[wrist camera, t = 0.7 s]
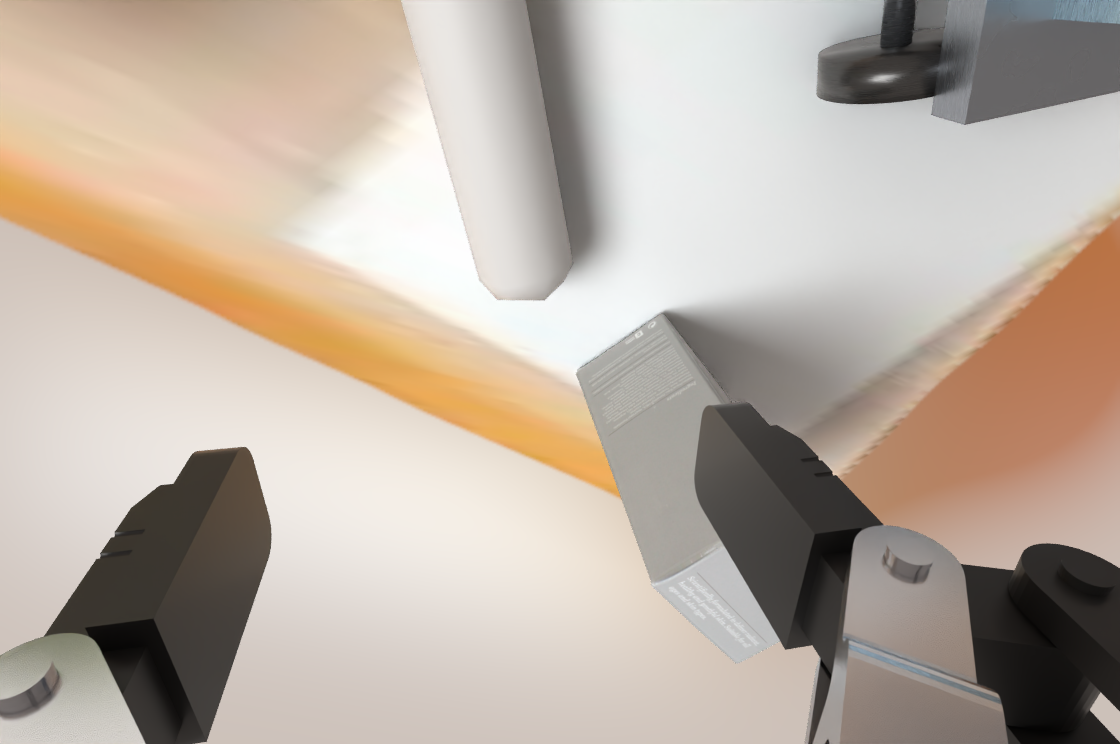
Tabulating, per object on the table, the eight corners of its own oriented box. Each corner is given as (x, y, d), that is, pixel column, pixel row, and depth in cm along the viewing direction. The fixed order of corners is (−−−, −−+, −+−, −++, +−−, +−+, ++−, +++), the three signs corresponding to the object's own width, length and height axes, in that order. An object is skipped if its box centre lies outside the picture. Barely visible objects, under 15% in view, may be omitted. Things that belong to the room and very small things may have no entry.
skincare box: (572, 367, 36) (625, 591, 23) (674, 300, 34) (795, 499, 21) (644, 450, 40) (724, 680, 27) (738, 394, 39) (873, 609, 25)
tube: (602, 295, 30) (468, -557, 16) (502, 334, 28) (257, -563, 14) (556, 261, 34) (419, -434, 20) (467, 294, 32) (252, -429, 18)
